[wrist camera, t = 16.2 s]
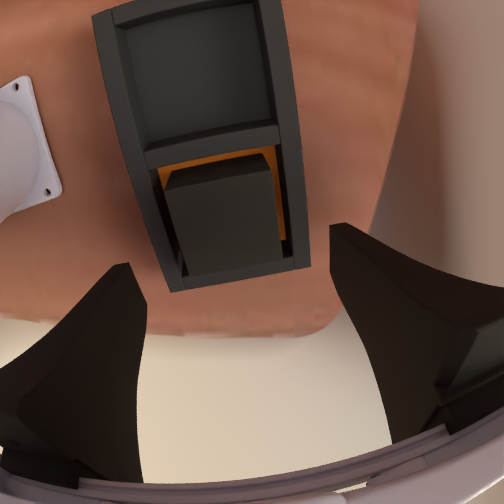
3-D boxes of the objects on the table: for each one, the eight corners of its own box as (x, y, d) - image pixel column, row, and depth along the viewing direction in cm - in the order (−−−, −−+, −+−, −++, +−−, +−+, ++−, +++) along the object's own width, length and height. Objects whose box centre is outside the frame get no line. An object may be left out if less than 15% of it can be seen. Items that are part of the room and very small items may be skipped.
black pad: (192, 247, 19) (189, 277, 17) (170, 170, 16) (162, 191, 14) (273, 232, 19) (283, 260, 17) (262, 152, 16) (271, 169, 14)
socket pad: (173, 268, 21) (170, 293, 19) (107, 21, 12) (90, 15, 10) (301, 244, 21) (311, 266, 19) (267, -13, 12) (276, -26, 10)
